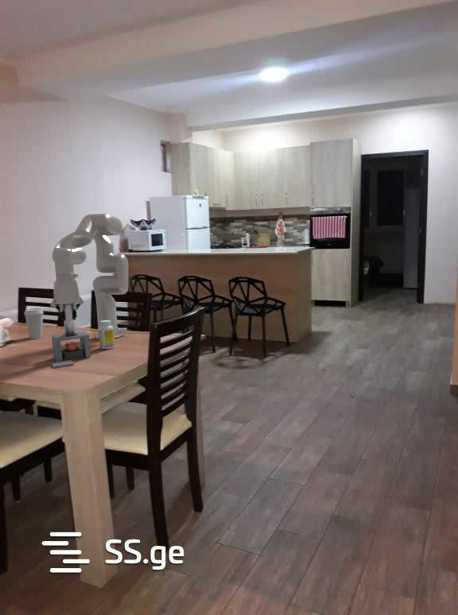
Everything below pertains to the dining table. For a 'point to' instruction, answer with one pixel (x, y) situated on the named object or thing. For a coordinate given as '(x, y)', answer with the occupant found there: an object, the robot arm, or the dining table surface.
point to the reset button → (71, 346)
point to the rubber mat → (62, 364)
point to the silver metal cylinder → (68, 320)
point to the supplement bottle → (106, 335)
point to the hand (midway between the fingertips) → (68, 319)
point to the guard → (71, 355)
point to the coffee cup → (34, 322)
